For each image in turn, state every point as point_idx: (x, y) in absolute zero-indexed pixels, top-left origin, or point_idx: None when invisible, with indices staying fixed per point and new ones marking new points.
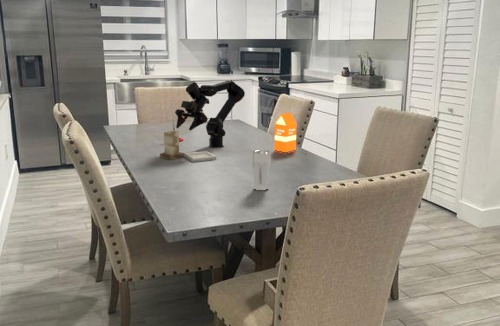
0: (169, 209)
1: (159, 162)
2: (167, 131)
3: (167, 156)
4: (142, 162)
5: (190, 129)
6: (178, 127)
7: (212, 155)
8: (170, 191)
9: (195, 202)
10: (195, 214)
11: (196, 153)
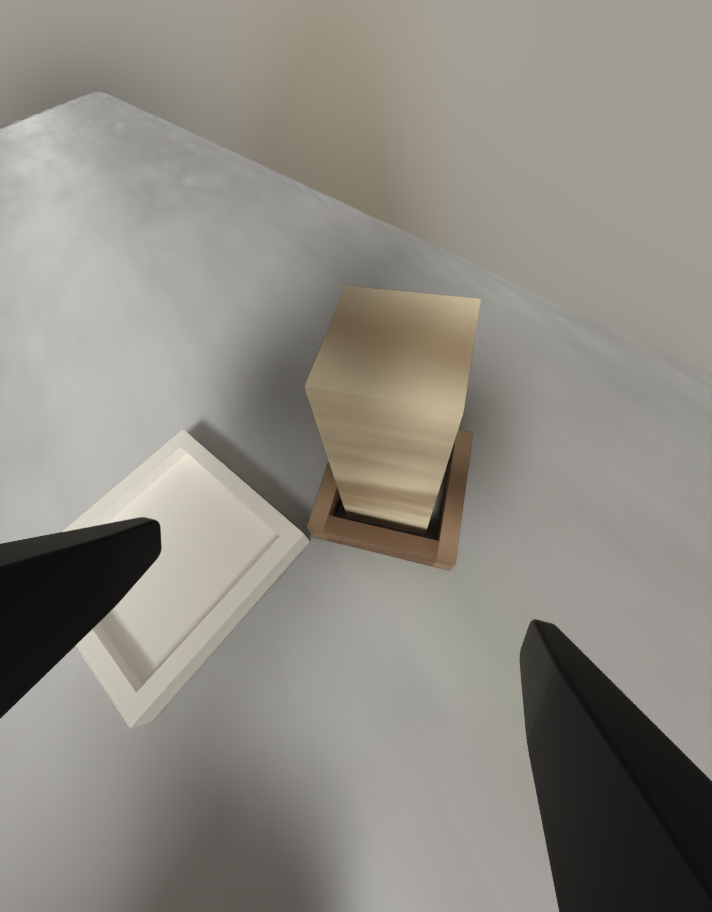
0: (125, 123)
1: None
2: (450, 324)
3: None
4: None
5: (133, 542)
6: (525, 693)
7: None
8: (159, 170)
9: (76, 155)
10: (66, 128)
11: (220, 606)
